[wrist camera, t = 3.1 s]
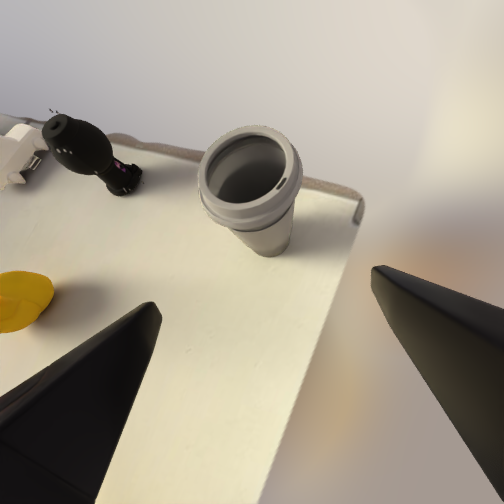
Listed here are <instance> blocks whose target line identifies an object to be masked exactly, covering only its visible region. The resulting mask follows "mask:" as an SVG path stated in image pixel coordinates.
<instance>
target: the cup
mask: <svg viewBox="0 0 504 504" xmlns="http://www.w3.org/2000/svg"><path fill="white" fill-rule="evenodd" d="M302 178H303V168H302V163H301V160H300V157H299V155H298V152H297V151H296V149H295V148H294V146H293V145H292V144H291V143H290V142H289V140H288V139H287V138H286V137H285V136H284V135H283V134H282V133H280V132H279V131H277V130H275V129H273V128H270V127H266V126H258V125H254V126H245V127H241V128H237V129H235V130H232V131H230V132H228V133H226V134H225V135H223V136H221V137H220V138H219V139H218V140H216V141H215V142H214V143H213V144H212V145H211V146H210V147H209V148H208V150H207V151H206V153H205V154H204V156H203V158H202V160H201V162H200V166H199V169H198V183H199V197H200V201H201V204H202V207H203V209H204V211H205V212H206V214H207V215H208V216H209V217H210V218H211V219H212V220H213V221H215V222H216V223H218V224H220V225H222V226H224V227H227V228H228V229H229V230H230V231H232V232H233V233H234V234H235V235H236V236H237V237H238V238H239V239H240V240H241V241H242V242H243V243H244V244H245V245H246V246H248V247H249V248H251V249H252V250H253V251H254V252H255V253H257V254H258V255H260V256H263V257H274V256H277V255H279V254H281V253H282V252H283V251H284V250H285V249H286V248H287V246H288V244H289V240H290V233H291V229H292V222H293V212H294V203H295V197H296V196H297V194H298V192H299V189H300V187H301V183H302Z"/></svg>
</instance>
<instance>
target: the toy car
mask: <svg viewBox="0 0 504 504" xmlns="http://www.w3.org/2000/svg"><path fill="white" fill-rule="evenodd" d="M42 149H44V150H49V148H48V146H47V144H46V142H45V141H43V136H42V131H40V130H39V129H37V128H36V129H35V128H33V127H31V126H29V125H26V124H21V123H20V124H17V125H15V126H14V127H13V128H12V129H11V130H10V131H9V132H8V133H7V134H6V135H5V136H1V135H0V190H4V188H5V187H4V186H5V185H6V184H7V183H18V184H19V183H22V184H24V183H26V181H25V180H24V179H22V178H23V177H22V175H20V173H19V171H20V170H21V169H23V167H24V168H26V167H28V165H29V167H28V168H31V166H32V165H33V164H34V162H35V161H36V160H37V158H38V157H36V156H35V155H34V154H33V153H34V152H35V151H38V150H42ZM34 156H35V157H36V158H35V157H34ZM32 157H34V158H33V161H32V162H31V160H32ZM29 158H30V159H31V160H30V159H29ZM34 159H35V160H34ZM39 159H40V158H39ZM27 161H28V162H27ZM29 161H30V163H29ZM40 161H41V159H40ZM40 161H39V162H40ZM26 162H27V163H28V164H27V163H26ZM39 162H38V164H39ZM31 163H32V164H31ZM30 164H31V165H30ZM38 164H37V165H38ZM24 165H26V166H24ZM37 165H36V166H37ZM36 166H35V168H36ZM28 168H27V169H28ZM35 168H34V169H35ZM27 169H24V170H27ZM31 169H32V168H31ZM34 169H33V170H34Z"/></svg>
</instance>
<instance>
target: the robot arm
mask: <svg viewBox="0 0 504 504" xmlns="http://www.w3.org/2000/svg"><path fill="white" fill-rule="evenodd" d="M371 288H372V291H373V293H374V295H375V297H376V299H377V302H378V303H379V305H380V307H381V310H382V312H383V314H384V316H385V318H386V320H387V322H388V324H389V325H390V327H391V329H392V330H393V332H394V334H395V335H396V337H397V338H398V340H399V342H400V343H401V345H402V346H403V348H404V349H405V351H406V352H407V354H408V355H409V357H410V358H411V360H412V362H413V363H414V365H415V366H416V368H417V369H418V371H419V372H420V374H421V376H422V377H423V379H424V380H425V382H426V383H427V385H428V386H429V388H430V390H431V391H432V393H433V394H434V396H435V397H436V399H437V400H438V402H439V403H440V405H441V406H442V408H443V409H444V411H445V413H446V414H447V416H448V417H449V419H450V420H451V422H452V423H453V425H454V427H455V428H456V430H457V431H458V433H459V434H460V436H461V437H462V439H463V441H464V442H465V444H466V445H467V447H468V448H469V450H470V451H471V453H472V455H473V456H474V458H475V459H476V461H477V462H478V464H479V465H480V467H481V468H482V470H483V472H484V473H485V475H486V476H487V478H488V479H489V481H490V482H491V484H492V485H493V487H494V488H495V490H496V492H497V493H498V495H499V496H500V498H501V499H502V501H503V502H504V309H502V308H500V307H497V306H494V305H491V304H489V303H486V302H483V301H481V300H478V299H475V298H472V297H470V296H467V295H464V294H462V293H459V292H456V291H454V290H451V289H448V288H445V287H442V286H440V285H437V284H434V283H432V282H429V281H426V280H424V279H421V278H418V277H415V276H413V275H410V274H407V273H405V272H402V271H399V270H396V269H394V268H391V267H388V266H385V265H381V266H375V267H373V268H372V270H371ZM161 323H162V315H161V313H160V311H159V309H158V308H157V306H156V304H155V303H154V302H145V303H142V304H141V305H139V306H138V307H136V308H135V309H133V310H132V311H130V312H129V313H127V314H126V315H124V316H123V317H121V318H120V319H118V320H117V321H115V322H114V323H112V324H111V325H109V326H108V327H106V328H105V329H103V330H102V331H100V332H99V333H97V334H96V335H94V336H93V337H91V338H90V339H88V340H87V341H85V342H84V343H82V344H81V345H79V346H77V347H76V348H74V349H73V350H71V351H70V352H68V353H67V354H65V355H64V356H62V357H61V358H59V359H58V360H56V361H55V362H53V363H52V364H51V365H50V366H47V367H46V368H44V369H43V370H41V371H40V372H38V373H37V374H35V375H34V376H32V377H31V378H29V379H27V380H26V381H24V382H23V383H21V384H20V385H18V386H17V387H15V388H14V389H12V390H10V391H9V392H7V393H6V394H4V395H3V396H1V397H0V504H95V499H96V498H97V496H98V493H99V490H100V488H101V485H102V483H103V480H104V478H105V475H106V472H107V470H108V467H109V465H110V462H111V460H112V457H113V454H114V452H115V449H116V447H117V444H118V442H119V439H120V436H121V434H122V431H123V429H124V426H125V424H126V421H127V418H128V416H129V413H130V411H131V408H132V406H133V403H134V400H135V398H136V395H137V393H138V390H139V388H140V385H141V382H142V380H143V377H144V375H145V372H146V370H147V367H148V364H149V362H150V359H151V357H152V354H153V351H154V347H155V344H156V340H157V337H158V333H159V330H160V326H161Z"/></svg>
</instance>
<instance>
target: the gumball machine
mask: <svg viewBox="0 0 504 504" xmlns="http://www.w3.org/2000/svg"><path fill="white" fill-rule="evenodd" d="M50 111H52V110H51V109H50ZM52 112H53V111H52ZM56 113H57V114H58V115H56V116H54V117H52V118H51V119H49V120H48V121H47V122H46V123H45V125H44V127H43V129H42V136H43V138H44V139H45V141H46V142H47V143H48V145H49V147H50V150H51V152H52V154H53V156H54V157H55V158H56V160H57V161H58V162H59V163H61V164H62V165H63V166H65V167H66V168H67V169H69V170H71V171H73V172H75V173H79V174H84V175H97V176H98V177H99V178H100V179H101V180H103V181H104V182H105V183H106V187H107V189H108V190H109V191H110V192H111V193H112V194H114V195H116V196H124V195H126V194H128V193H130V192H131V191H132V190H133V189H134V188H135V187H136V186H137V184H138V182H139V176H140V175H141V174H142V170H141V169H140V168H139V167H138V166H137V165H135V164H132V165H129V164H124V163H122V162H121V161H119V160H117V159H116V158H114V156H113V150H112V146H111V144H110V142H109V140H108V138H107V137H106V136H105V134H104V133H103V132H102V131H101V130H99V128H97V127H95V126H94V125H92V124H90V123H88V122H86V121H82V120H78V119H73V118H71V117H69V116H67V115H65V114H59V113H58V112H57V111H56ZM142 183H143V182H142ZM143 184H144V183H143Z"/></svg>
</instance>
